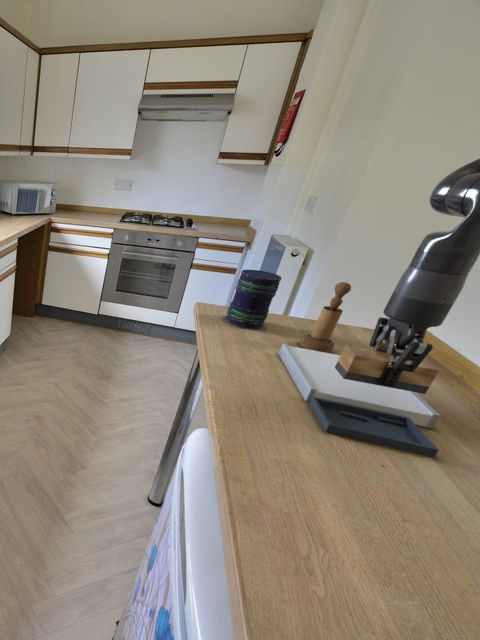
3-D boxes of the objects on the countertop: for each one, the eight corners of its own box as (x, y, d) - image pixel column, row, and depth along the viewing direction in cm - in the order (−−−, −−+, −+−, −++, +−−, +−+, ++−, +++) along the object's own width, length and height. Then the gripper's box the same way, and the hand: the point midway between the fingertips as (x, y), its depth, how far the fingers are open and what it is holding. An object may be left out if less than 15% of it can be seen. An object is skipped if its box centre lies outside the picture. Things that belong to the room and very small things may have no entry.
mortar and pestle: (306, 351, 106) (337, 284, 98) (295, 341, 112) (322, 277, 104) (336, 355, 105) (369, 288, 97) (322, 344, 110) (352, 280, 103)
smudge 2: (406, 424, 76) (404, 426, 77) (403, 421, 77) (401, 423, 78) (379, 418, 78) (378, 420, 78) (376, 415, 79) (375, 417, 79)
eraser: (411, 381, 78) (424, 358, 76) (425, 394, 74) (439, 370, 72) (334, 367, 82) (345, 345, 80) (343, 378, 78) (355, 355, 76)
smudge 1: (364, 418, 78) (366, 416, 78) (366, 421, 77) (367, 419, 77) (338, 411, 80) (339, 409, 80) (340, 414, 79) (341, 412, 79)
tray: (404, 424, 78) (408, 417, 77) (433, 457, 70) (438, 449, 69) (309, 403, 83) (312, 396, 83) (325, 431, 75) (329, 424, 74)
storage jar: (240, 315, 128) (256, 268, 122) (270, 327, 120) (290, 278, 114) (217, 318, 125) (233, 270, 118) (247, 331, 117) (266, 280, 110)
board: (377, 372, 97) (383, 361, 96) (432, 428, 77) (440, 415, 76) (278, 353, 104) (282, 343, 103) (305, 400, 84) (311, 388, 83)
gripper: (479, 311, 64) (423, 402, 71) (430, 286, 75) (385, 366, 83) (417, 303, 66) (368, 392, 74) (378, 280, 78) (340, 358, 85)
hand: (378, 378), depth 78 cm, fingers closed on eraser, 5 cm apart
